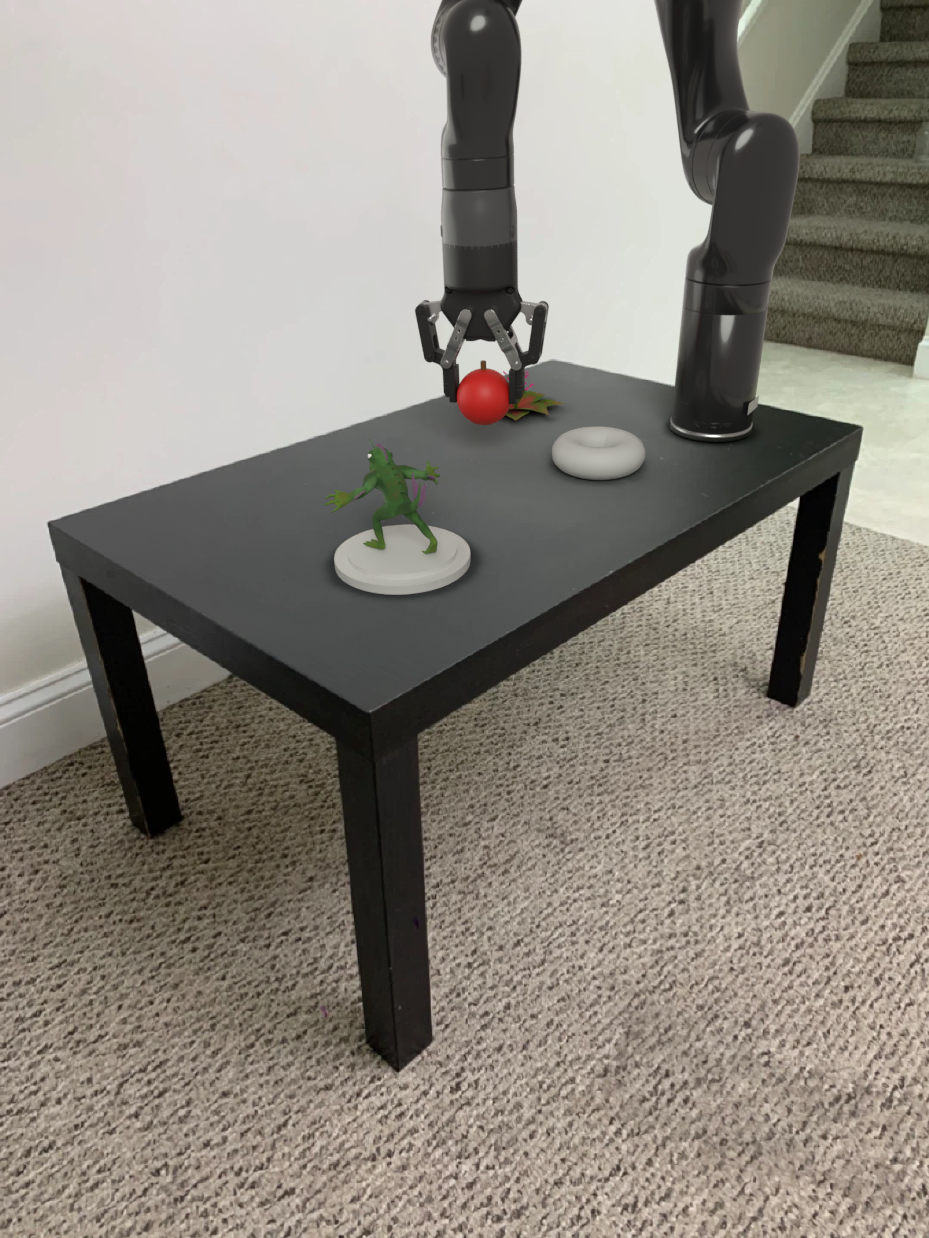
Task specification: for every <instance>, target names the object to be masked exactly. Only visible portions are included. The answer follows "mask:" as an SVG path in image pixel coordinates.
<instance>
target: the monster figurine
mask: <svg viewBox="0 0 929 1238" xmlns="http://www.w3.org/2000/svg"><path fill="white" fill-rule="evenodd" d="M368 441H369V442H370V443H371V445H372V449H371V450H369V451H368V452H367V460H368V462H369V464H368V469H369V472H367V473H366V474H365V475H364V477H363V479H362V480H363V481H362V486H358V487H356V488H354V489H353V490H352V491H350V492H345V491H342V490H339V489H333V492H334V493H329V494H328V495H326V497H325V498H324V500H328V499H330V498H334V499H331V500H329V501H327V502H326V503H324V504H323V506H324V507H325V506H328V505H332V504H333V505H336V507H335V508H334V509H333V510H332V511H331V512H330V513H331V514H332V513H334V512H336V511H338V510H340V509H342V508H343V507H345V506H347V505H348V504H350V503H351V502H353V501H357V500H360V499H362V498H364V497H366V496H367V495H369V493H371V492H372V491H373V490H374V489H376V490H378V491H380V493H382V499H383V504H381V506H379V507H378V508H377V509H376V510H375V511H374V512H373V513H372V517H371V521H372V528H371V529H367V530H365V531H361V532H359V533H357V534H355V535H353V536H351V537H349V538H348V539H346V540H344V542H342V543H341V544H340V545H339V546H338V547H337V548H336V550H335V553H334V555H333V556H334V557H333V562H334V569H335V573H336V575H337V576H338V578H339V579H341V581H342V582H344V583H345V584H347V585H348V586H351V587H353V588H355V589H358V590H361V591H364V592H368V593H373V594H380V595H390V596H391V595H394V596H396V595H397V596H401V595H412V594H413V595H414V594H422V593H427V592H431V591H435V590H437V589H441V588H443V587H445V586H448V585H450V584H453V583H454V582H456V581H458V580H459V579H460V578H461V577H463V576H464V575H465V574H466V573H467V571H468V570H469V568H470V567H471V561H472V559H471V548H470V545H469V544H468V542H467V541H466V539H464V538H462V536H460V535H459V534H456V533H455V532H453V531H450V530H447V529H445V528H441V527H437V526H431V525H428V524H427V523H426V522H425V521H424V520H423V519H422V517H421V515H420V514H419V512H418V511H417V510H418V508H419V507H422V506H423V505H424V503H425V501H426V496H427V482H426V481H431V482H433V483H435V485H438V484H439V482H438V480H437V478H440V477H441V474H440V473H436V472H435V471H436V470H438V469H439V466H437V465H436V466H432V465H431V463H430V460H429V459H427V460H426V467H425V469H423V470H421V469H418V468H416V467H413V466H409V465H406V464H399V465H398V464H396V463H395V461H394V459H393V452H391V451H389V450H388V449H387V448H386V447H384V445H382V444H381V442H378V443H377V444H376V445H374V444H373V442H372V440H371V438H368ZM419 479H421V480H423V481H425V482H424V485H422V483H421V482H419V483H417V481H416V480H419ZM406 480H411V486H412V487H411V488H412V494H413V501H412V500H411V499H410V497H409V490H408V485H407V481H406ZM401 515H403V516H404V517H405V518H406V519H408V520H409V522H412V523H413V524H394V525H393V524H392V525H386V526H382V524H381V521H384V520H390V519H393V518H395V517H398V516H401Z"/></svg>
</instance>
